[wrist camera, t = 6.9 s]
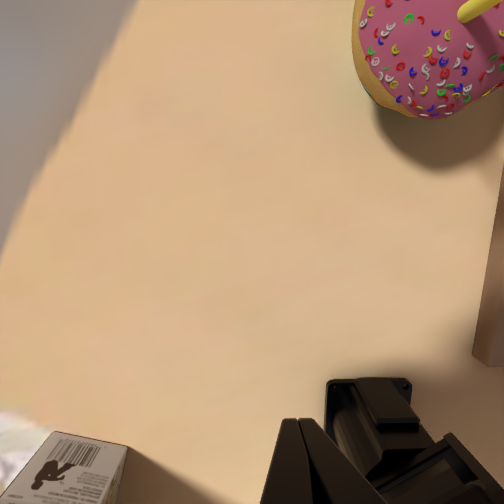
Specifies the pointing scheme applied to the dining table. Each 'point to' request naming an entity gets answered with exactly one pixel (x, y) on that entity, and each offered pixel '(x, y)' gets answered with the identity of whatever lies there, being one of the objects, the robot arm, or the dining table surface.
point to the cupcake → (428, 53)
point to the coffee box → (69, 473)
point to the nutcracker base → (493, 297)
